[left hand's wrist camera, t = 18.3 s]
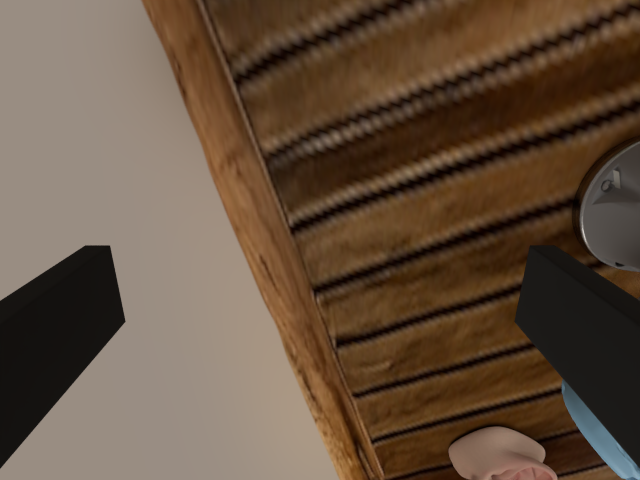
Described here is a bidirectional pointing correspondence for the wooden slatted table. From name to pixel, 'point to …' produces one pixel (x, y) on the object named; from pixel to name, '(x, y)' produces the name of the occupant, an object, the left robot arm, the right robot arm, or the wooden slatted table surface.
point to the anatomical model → (499, 456)
